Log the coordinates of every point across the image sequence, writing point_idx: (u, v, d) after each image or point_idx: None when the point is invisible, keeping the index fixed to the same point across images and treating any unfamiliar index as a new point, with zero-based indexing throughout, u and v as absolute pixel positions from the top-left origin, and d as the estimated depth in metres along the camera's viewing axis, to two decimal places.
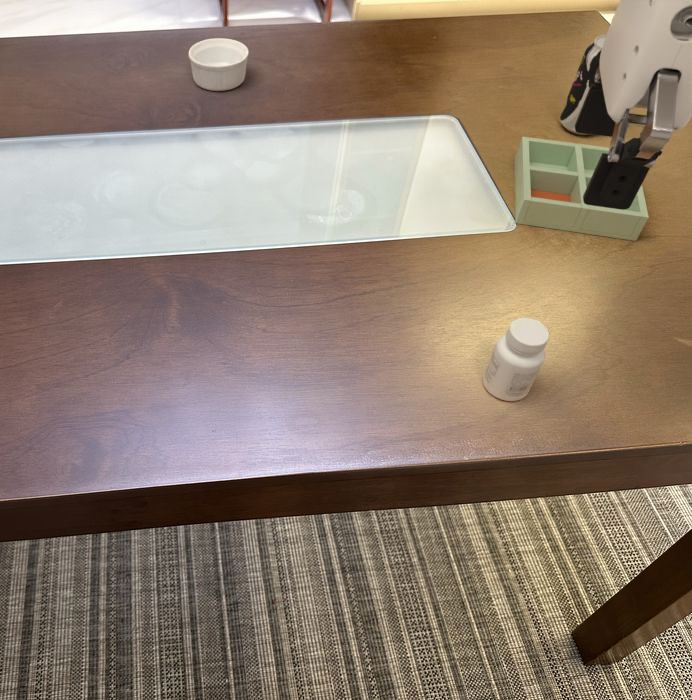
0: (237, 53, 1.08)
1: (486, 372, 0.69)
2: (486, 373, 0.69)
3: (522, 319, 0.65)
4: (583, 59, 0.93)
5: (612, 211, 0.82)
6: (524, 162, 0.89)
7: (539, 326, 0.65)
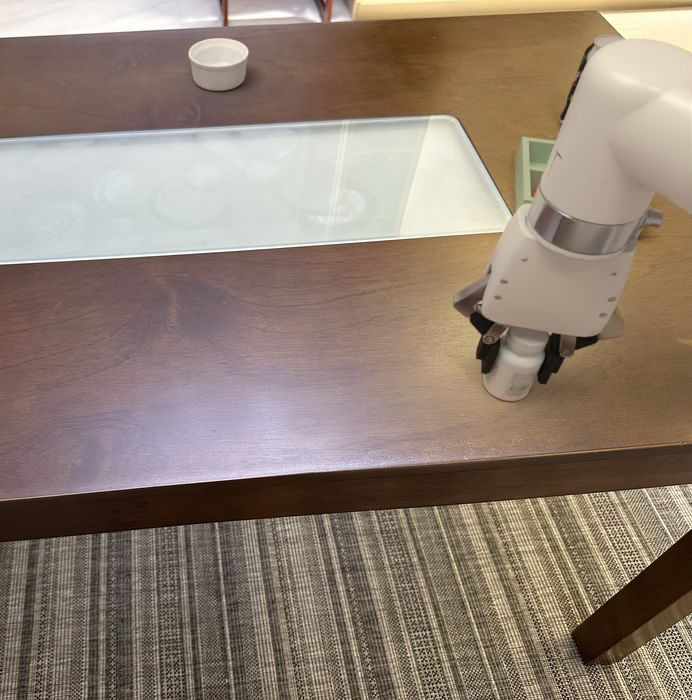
0: (237, 53, 1.08)
1: None
2: None
3: None
4: (583, 59, 0.93)
5: None
6: (524, 162, 0.89)
7: None
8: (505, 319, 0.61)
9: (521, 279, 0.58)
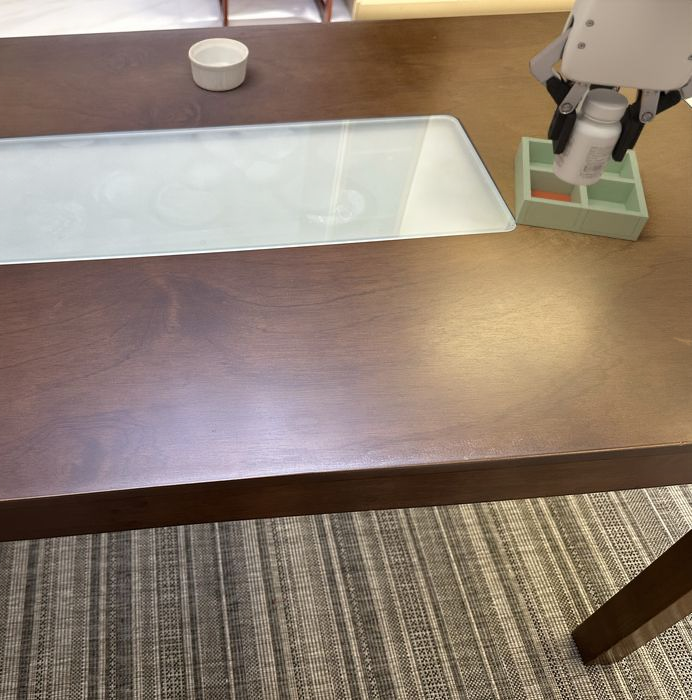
0: (237, 53, 1.08)
1: (557, 157, 0.67)
2: (558, 157, 0.67)
3: (598, 89, 0.63)
4: None
5: (612, 211, 0.82)
6: (524, 162, 0.89)
7: (617, 94, 0.63)
8: (587, 74, 0.59)
9: (609, 16, 0.56)
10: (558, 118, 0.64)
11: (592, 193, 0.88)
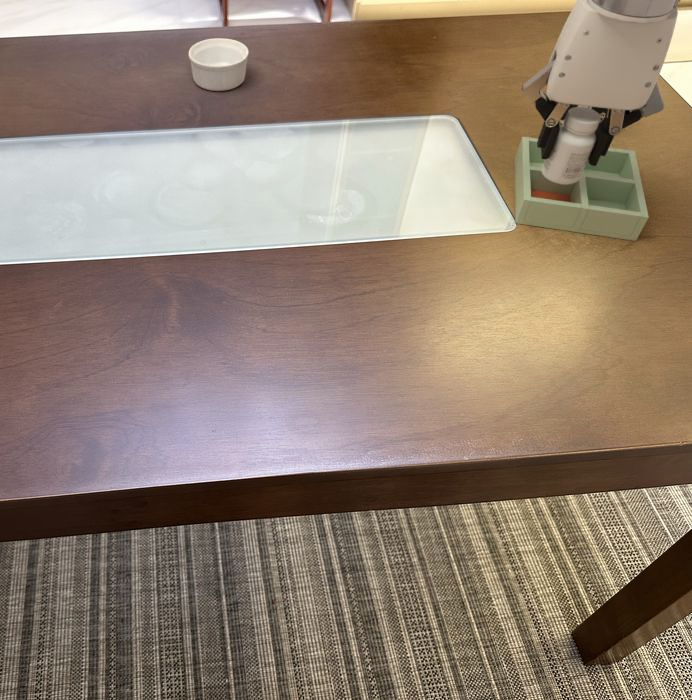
0: (237, 53, 1.08)
1: (545, 161, 0.83)
2: (545, 161, 0.83)
3: (577, 107, 0.79)
4: None
5: (612, 211, 0.82)
6: (524, 162, 0.89)
7: (592, 112, 0.79)
8: (566, 97, 0.75)
9: (583, 53, 0.72)
10: (545, 130, 0.80)
11: (592, 193, 0.88)
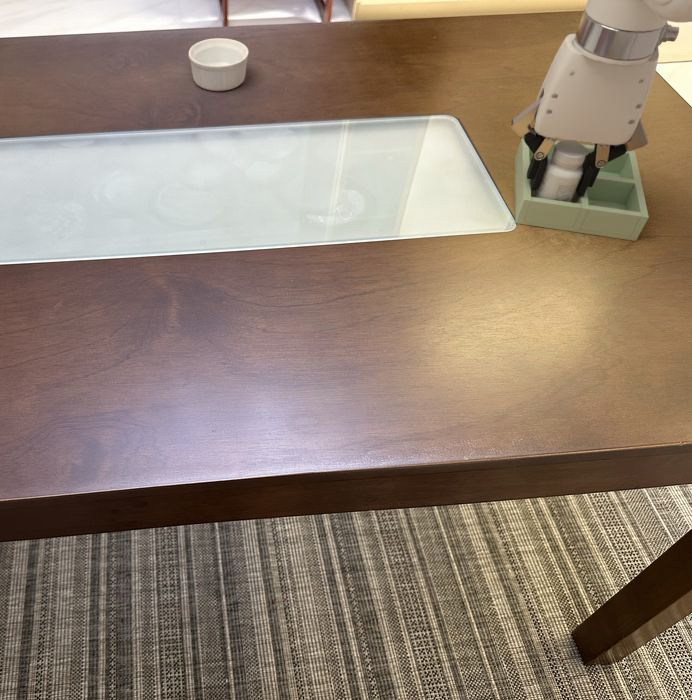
0: (237, 53, 1.08)
1: (534, 192, 0.86)
2: (535, 192, 0.86)
3: (565, 141, 0.82)
4: None
5: (612, 211, 0.82)
6: (524, 162, 0.89)
7: (579, 145, 0.82)
8: (554, 132, 0.78)
9: (568, 92, 0.75)
10: (534, 163, 0.83)
11: (592, 193, 0.88)
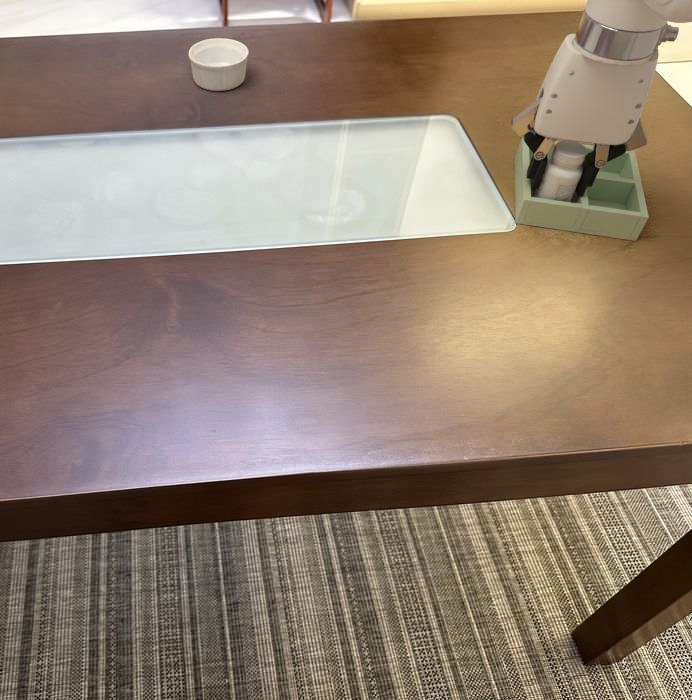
0: (237, 53, 1.08)
1: (534, 191, 0.86)
2: (534, 192, 0.86)
3: (564, 141, 0.82)
4: None
5: (612, 211, 0.82)
6: (524, 162, 0.89)
7: (578, 145, 0.82)
8: (553, 132, 0.78)
9: (568, 92, 0.75)
10: (534, 162, 0.83)
11: (592, 193, 0.88)
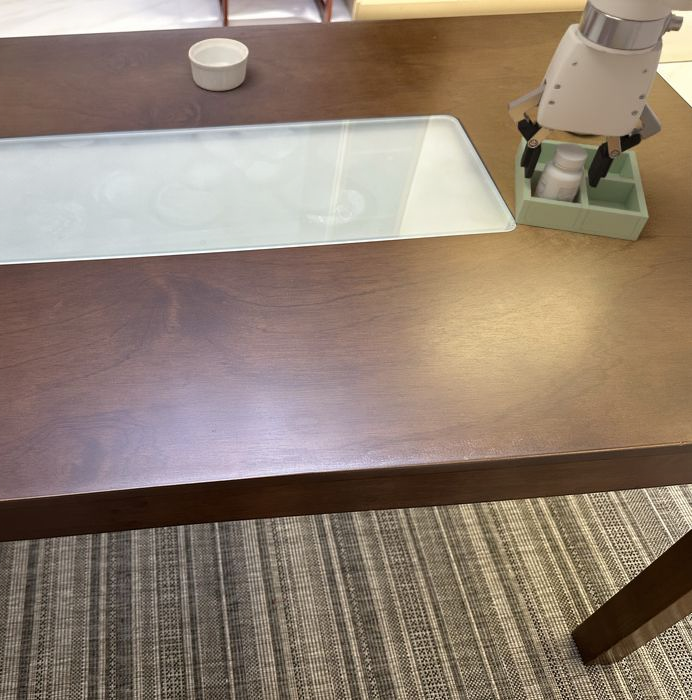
0: (237, 53, 1.08)
1: (535, 194, 0.86)
2: (535, 194, 0.86)
3: (565, 144, 0.82)
4: None
5: (612, 211, 0.82)
6: None
7: (579, 148, 0.82)
8: (556, 123, 0.78)
9: (571, 82, 0.74)
10: (527, 151, 0.82)
11: (592, 193, 0.88)
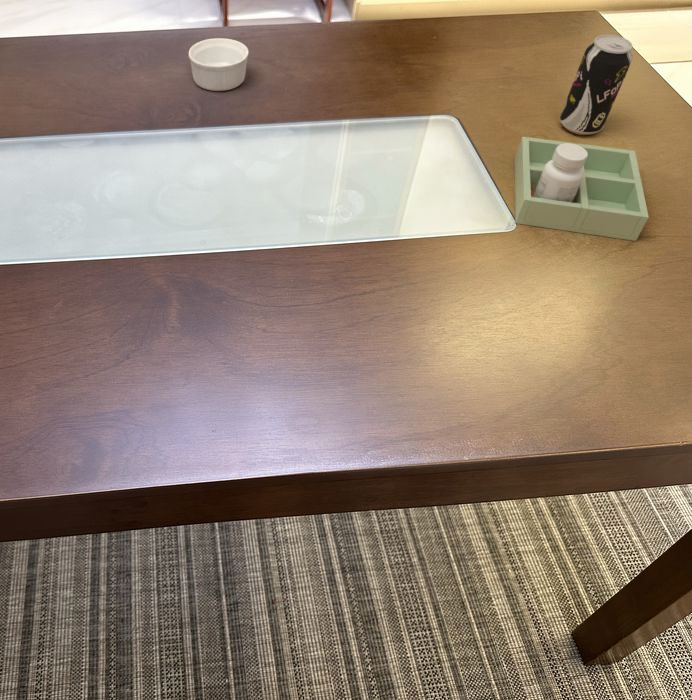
0: (237, 53, 1.08)
1: (535, 194, 0.86)
2: (535, 195, 0.86)
3: (565, 144, 0.82)
4: (583, 59, 0.93)
5: (612, 211, 0.82)
6: (524, 162, 0.89)
7: (579, 148, 0.82)
8: None
9: None
10: None
11: (592, 193, 0.88)
